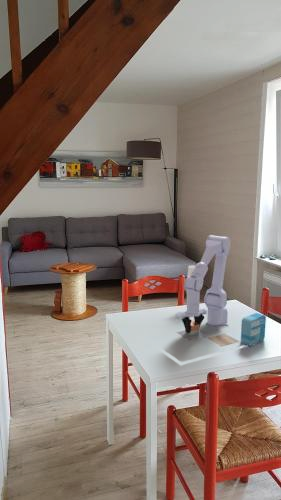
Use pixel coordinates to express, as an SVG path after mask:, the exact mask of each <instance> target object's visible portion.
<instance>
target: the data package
mask: <svg viewBox="0 0 281 500" xmlns="http://www.w3.org/2000/svg"><path fill="white" fill-rule="evenodd" d="M266 322H267V316H266V315H265V314H261V313H257V312H254V313H252V314H249V315H247V316H245V317H243V318H242V319H241V325H240V326H241V327H240V329H241V330H240V331H241V332H240V342H241V343H244V345H245V346H248V347H253V346H254V345H256V344H259V343H261V342H263V341H265V337H266V336H265V335H266V324H267V323H266Z"/></svg>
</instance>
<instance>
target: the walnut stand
mask: <svg viewBox="0 0 281 500" xmlns="http://www.w3.org/2000/svg"><path fill="white" fill-rule="evenodd" d="M207 339H208V340H210V341H212V342H214V343H215V344H217V345H219V346H221V347H225V346H228V345H232V344H236V343H239V342H241V340H240V341H239V340H238V339H236V338H234V337H232V336H230V335H227V334H226V333H222V334H217V335H213V336H211V337H207Z"/></svg>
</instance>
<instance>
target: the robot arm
mask: <svg viewBox="0 0 281 500" xmlns="http://www.w3.org/2000/svg"><path fill="white" fill-rule="evenodd" d="M231 245H232V242H231V239H230V238H229V237H228V236H218V235H213V234H209V235H208V236H207V238H206V241H205V247H206V248H205V250H204V252H203V254H202V257H201V259H200V262H198V263H196V264H195V265H194V266H195V268H194V270H193V272H192V273H191V275H190V276H189V277H187V276H186V278H185V281H184V289H185V293H186V308H187V310H186V309H185V310H186V311H183V312H182V313H179V314H177V315H178V316H177V318H178V319H179V320H181V321H182V324H183V326H184V329H185V330H186V332H187V333H190V325H191V321H194V322H196V323H198V324H200V326H201V325H202V323H203V321H204V320H205V316H204V315H206V316H207V317H206V323H207V324H208V325H210V326H222V325H223V326H229V324H228V313H229V312H228V309H227V307H226V306H227V304H228V299H227V292H226V291H225V290H224V289H223V286H224V285H223V284H224V278H225V271H226V267H227V259H228V258H227V257H228V255H230V251H231ZM214 256H215V262H214V266H213V268H214V269H213V275H212V282H211V287H210V288H208V289H207V290H206V293H205V295H204V298H203V302H204V305H205V307H206V308H207V309H205V308H202V309H201V308H200V297H201V296H200V293H201V290H202V288H203V286H204V278H205V276H206V275H207V273H208V270H209V266H208V265H209V263H210V262H211V260H212V259H213V257H214ZM190 318H193V319H194V320H192V319H190ZM185 330H184V331H185Z"/></svg>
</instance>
